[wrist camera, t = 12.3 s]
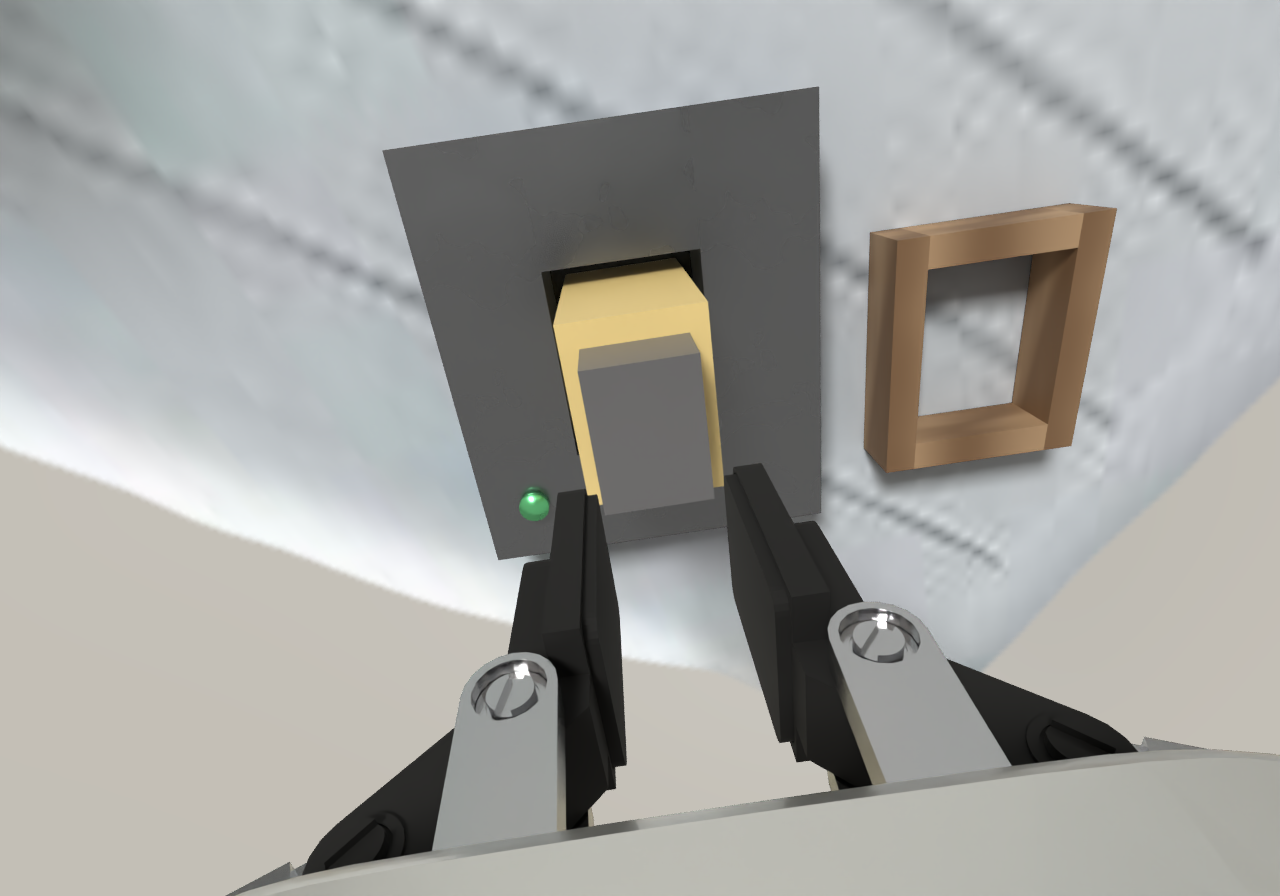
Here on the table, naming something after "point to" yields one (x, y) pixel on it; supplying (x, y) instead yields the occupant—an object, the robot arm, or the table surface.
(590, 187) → the port
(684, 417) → the plug
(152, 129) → the table surface
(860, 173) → the table surface
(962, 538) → the table surface
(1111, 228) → the frame
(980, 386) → the table surface
